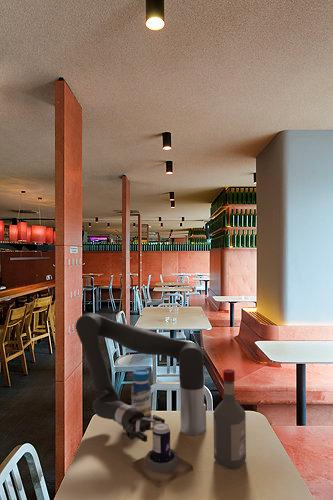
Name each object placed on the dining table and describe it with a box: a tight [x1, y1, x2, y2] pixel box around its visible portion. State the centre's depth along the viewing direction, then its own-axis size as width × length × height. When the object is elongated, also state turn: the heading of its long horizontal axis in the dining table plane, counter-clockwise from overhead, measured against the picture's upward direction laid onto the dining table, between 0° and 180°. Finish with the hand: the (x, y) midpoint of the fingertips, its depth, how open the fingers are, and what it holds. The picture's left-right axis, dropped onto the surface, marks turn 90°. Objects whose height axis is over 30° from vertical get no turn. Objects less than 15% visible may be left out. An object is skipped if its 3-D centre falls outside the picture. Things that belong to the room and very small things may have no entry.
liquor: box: [213, 368, 247, 470], centre depth 130 cm, size 9×9×30 cm
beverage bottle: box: [130, 369, 153, 419], centre depth 162 cm, size 8×8×20 cm
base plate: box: [131, 455, 194, 488], centre depth 127 cm, size 14×14×2 cm
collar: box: [145, 448, 179, 473], centre depth 127 cm, size 10×10×2 cm
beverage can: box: [152, 422, 171, 463], centre depth 127 cm, size 6×6×12 cm
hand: (157, 434), depth 129 cm, fingers open, 8 cm apart
